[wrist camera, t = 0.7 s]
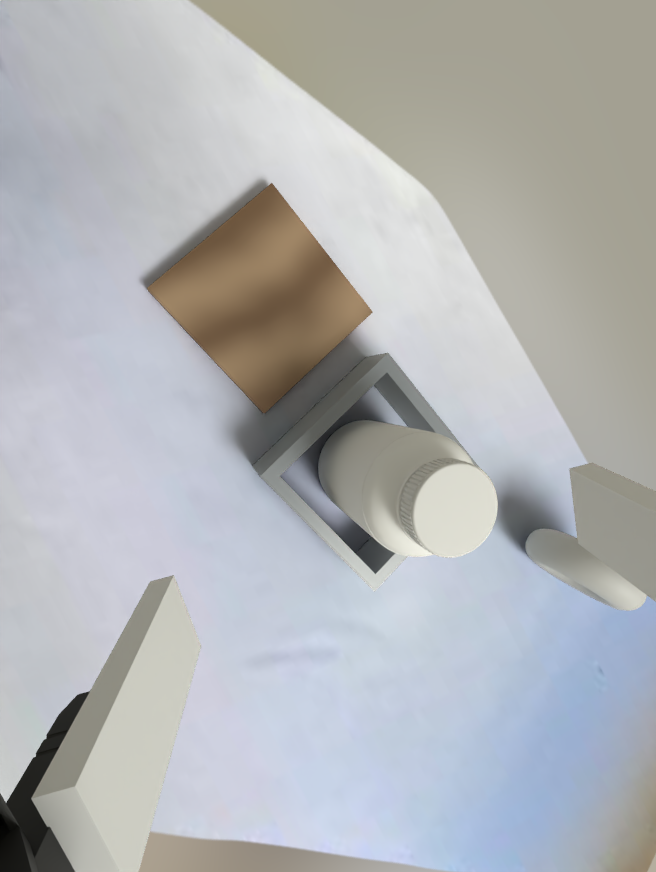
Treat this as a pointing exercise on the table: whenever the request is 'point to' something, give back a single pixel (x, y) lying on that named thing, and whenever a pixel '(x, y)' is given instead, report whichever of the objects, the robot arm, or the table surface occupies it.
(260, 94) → the table surface
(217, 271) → the pad
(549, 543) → the donut
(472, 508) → the pill bottle
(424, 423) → the sleeve
